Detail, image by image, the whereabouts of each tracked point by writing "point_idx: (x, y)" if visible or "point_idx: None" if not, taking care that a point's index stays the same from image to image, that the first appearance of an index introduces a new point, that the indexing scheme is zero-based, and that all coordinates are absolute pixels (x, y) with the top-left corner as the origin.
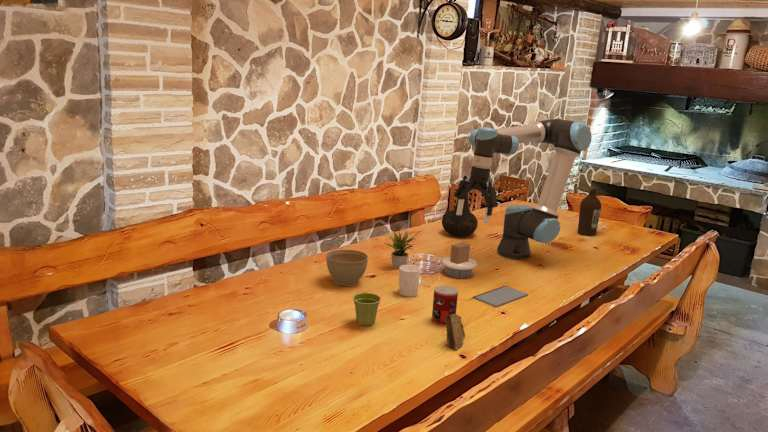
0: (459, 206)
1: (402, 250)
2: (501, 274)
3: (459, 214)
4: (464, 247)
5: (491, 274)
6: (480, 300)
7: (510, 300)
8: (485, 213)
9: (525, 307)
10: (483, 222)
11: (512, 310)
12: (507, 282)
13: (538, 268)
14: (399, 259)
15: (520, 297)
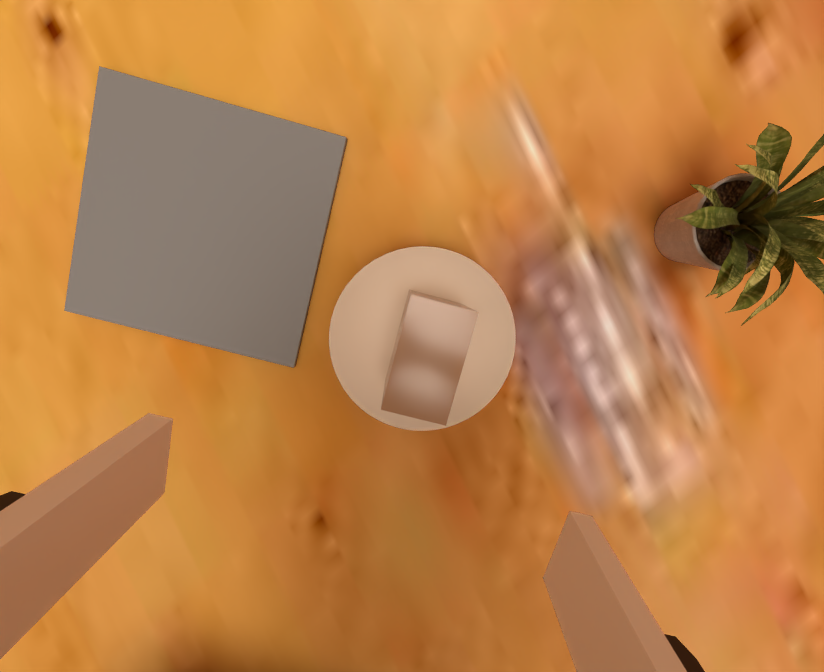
0: (620, 622)
1: (745, 228)
2: (275, 474)
3: (560, 547)
4: (396, 350)
5: (309, 444)
6: (192, 94)
7: (83, 177)
8: (41, 496)
9: (10, 163)
10: (155, 420)
11: (34, 88)
12: (210, 399)
13: (187, 647)
14: (709, 186)
15: (75, 253)
